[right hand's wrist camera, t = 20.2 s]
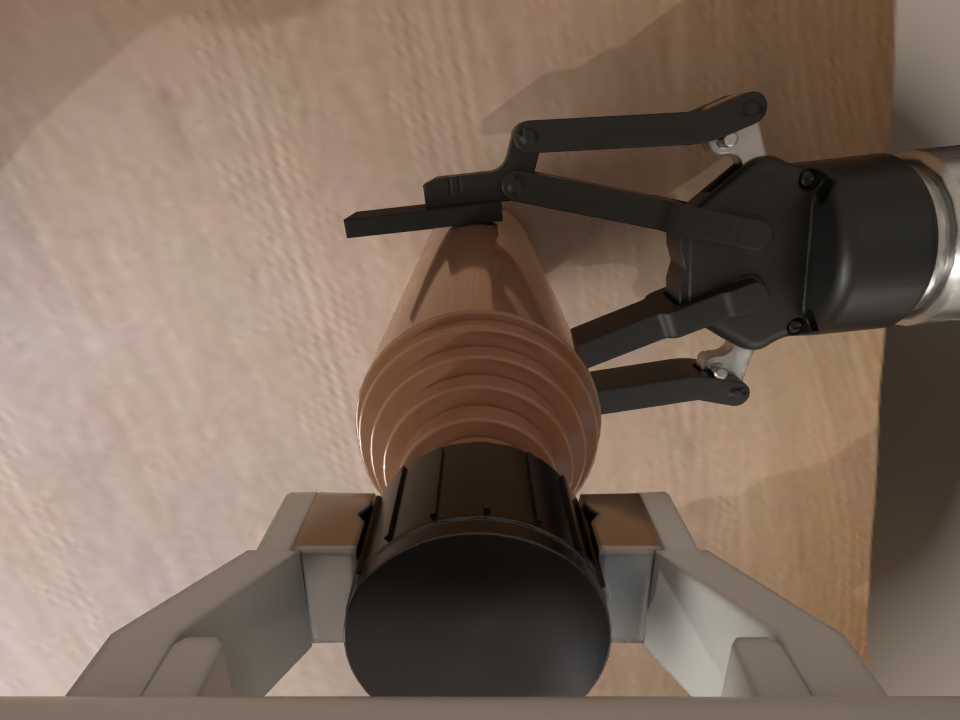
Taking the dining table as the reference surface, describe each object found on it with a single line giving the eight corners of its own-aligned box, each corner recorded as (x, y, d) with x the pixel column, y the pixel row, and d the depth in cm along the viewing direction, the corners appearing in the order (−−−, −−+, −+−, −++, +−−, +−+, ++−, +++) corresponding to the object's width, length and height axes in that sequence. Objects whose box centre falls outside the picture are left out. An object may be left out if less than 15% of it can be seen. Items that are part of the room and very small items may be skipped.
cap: (351, 451, 10) (312, 547, 8) (577, 425, 10) (607, 515, 7) (391, 624, 11) (369, 750, 9) (591, 604, 11) (620, 727, 9)
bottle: (548, 281, 33) (728, 677, 9) (456, 325, 34) (400, 788, 10) (504, 183, 31) (586, 366, 7) (407, 232, 32) (196, 537, 8)
